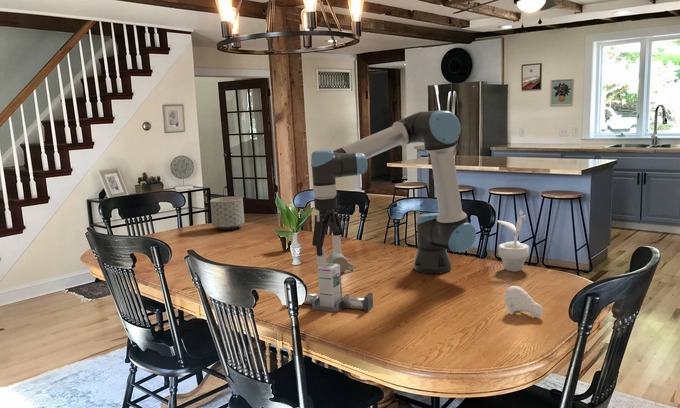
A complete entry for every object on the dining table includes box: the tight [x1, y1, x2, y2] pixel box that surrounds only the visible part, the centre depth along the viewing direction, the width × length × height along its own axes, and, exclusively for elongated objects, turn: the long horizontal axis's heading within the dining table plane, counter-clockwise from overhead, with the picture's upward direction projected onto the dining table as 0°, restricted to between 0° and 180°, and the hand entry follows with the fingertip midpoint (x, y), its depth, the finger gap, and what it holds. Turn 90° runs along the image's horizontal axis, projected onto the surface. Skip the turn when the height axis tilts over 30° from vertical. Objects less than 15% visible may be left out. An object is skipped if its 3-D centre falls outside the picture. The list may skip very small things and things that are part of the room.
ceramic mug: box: [326, 251, 355, 274], centre depth 224 cm, size 11×8×8 cm
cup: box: [277, 234, 291, 253], centre depth 262 cm, size 9×9×10 cm
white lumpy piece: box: [503, 285, 544, 319], centre depth 167 cm, size 6×8×12 cm
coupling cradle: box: [303, 292, 374, 313], centre depth 183 cm, size 29×10×5 cm, turn 68°
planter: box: [209, 196, 246, 231], centre depth 322 cm, size 19×19×18 cm
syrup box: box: [317, 262, 343, 307], centre depth 183 cm, size 6×6×14 cm
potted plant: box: [496, 208, 530, 273], centre depth 213 cm, size 13×12×25 cm
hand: (329, 259), depth 181 cm, fingers open, 13 cm apart
